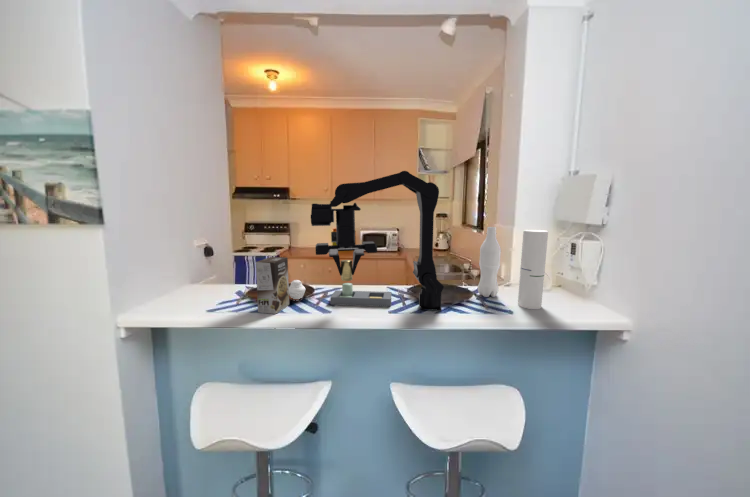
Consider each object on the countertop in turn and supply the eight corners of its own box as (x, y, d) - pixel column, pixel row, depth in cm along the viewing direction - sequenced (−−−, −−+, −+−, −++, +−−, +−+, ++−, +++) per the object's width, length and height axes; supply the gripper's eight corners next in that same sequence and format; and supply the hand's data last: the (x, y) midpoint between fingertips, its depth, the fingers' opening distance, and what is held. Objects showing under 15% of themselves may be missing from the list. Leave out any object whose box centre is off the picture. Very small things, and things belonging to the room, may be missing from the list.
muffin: (292, 295, 116) (291, 277, 114) (308, 297, 114) (307, 278, 113) (284, 301, 110) (283, 281, 108) (301, 302, 108) (300, 282, 107)
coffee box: (276, 314, 97) (274, 262, 95) (257, 312, 99) (254, 261, 96) (290, 304, 106) (288, 256, 104) (272, 303, 107) (270, 256, 105)
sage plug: (343, 299, 112) (343, 282, 111) (353, 299, 112) (353, 283, 111) (341, 302, 108) (341, 285, 107) (351, 303, 108) (351, 285, 107)
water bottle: (499, 294, 118) (504, 227, 114) (495, 299, 112) (500, 228, 108) (480, 291, 122) (484, 226, 118) (474, 296, 116) (478, 227, 112)
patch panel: (391, 298, 113) (391, 291, 112) (390, 306, 105) (390, 298, 104) (335, 297, 114) (335, 289, 114) (330, 304, 106) (330, 296, 106)
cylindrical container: (522, 300, 112) (528, 229, 108) (544, 305, 107) (551, 230, 103) (514, 305, 107) (519, 230, 103) (536, 310, 102) (543, 232, 98)
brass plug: (352, 278, 103) (351, 259, 102) (352, 280, 100) (352, 261, 99) (341, 278, 102) (340, 260, 102) (341, 281, 99) (340, 262, 98)
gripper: (371, 222, 108) (371, 268, 110) (315, 224, 105) (316, 270, 107) (377, 225, 97) (377, 275, 99) (314, 227, 94) (316, 279, 96)
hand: (346, 274), depth 101 cm, fingers closed on brass plug, 3 cm apart
